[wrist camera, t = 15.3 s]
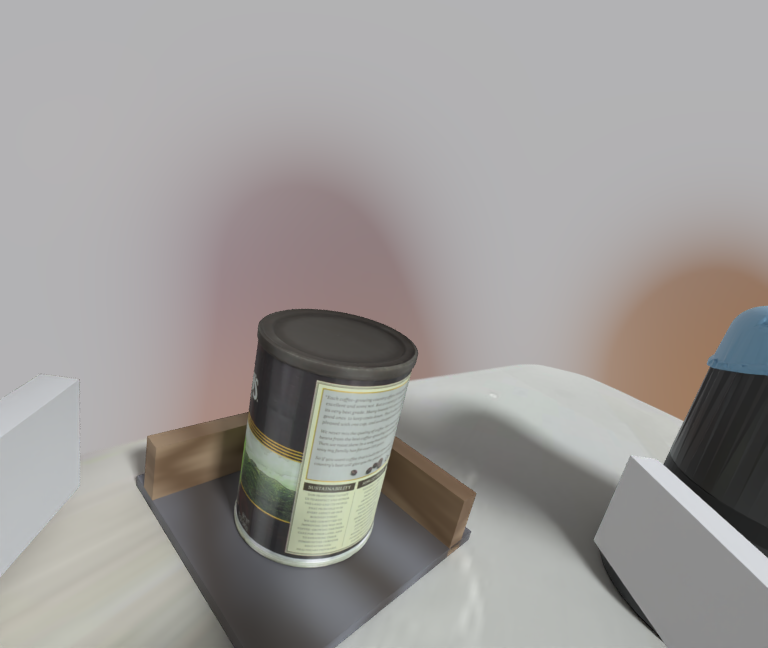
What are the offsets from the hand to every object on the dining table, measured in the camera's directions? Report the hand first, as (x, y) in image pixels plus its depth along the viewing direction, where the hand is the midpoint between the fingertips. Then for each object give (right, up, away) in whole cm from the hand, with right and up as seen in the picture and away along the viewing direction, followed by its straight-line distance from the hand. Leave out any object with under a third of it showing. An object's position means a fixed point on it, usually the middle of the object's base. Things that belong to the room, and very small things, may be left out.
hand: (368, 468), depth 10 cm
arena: (-5, -11, +22) cm, 25 cm away
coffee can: (-5, -11, +22) cm, 25 cm away
